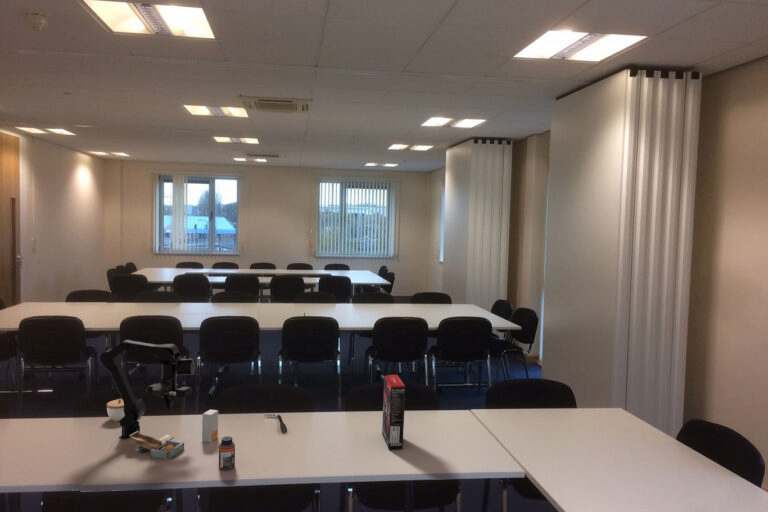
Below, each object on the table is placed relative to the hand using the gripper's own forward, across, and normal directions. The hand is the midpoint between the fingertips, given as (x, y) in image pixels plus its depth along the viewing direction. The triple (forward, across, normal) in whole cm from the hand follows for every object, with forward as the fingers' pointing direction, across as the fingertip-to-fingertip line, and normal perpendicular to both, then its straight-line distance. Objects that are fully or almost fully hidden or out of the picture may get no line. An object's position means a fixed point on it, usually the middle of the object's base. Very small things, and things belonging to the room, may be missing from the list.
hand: (169, 409), depth 221 cm
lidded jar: (+12, -35, +12) cm, 39 cm away
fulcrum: (+12, -1, -14) cm, 18 cm away
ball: (+10, +10, -14) cm, 20 cm away
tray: (+12, +9, -14) cm, 21 cm away
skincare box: (+12, +18, +3) cm, 22 cm away
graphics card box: (+12, +94, +23) cm, 98 cm away
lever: (+9, -1, -10) cm, 14 cm away
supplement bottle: (+12, +38, -18) cm, 44 cm away
